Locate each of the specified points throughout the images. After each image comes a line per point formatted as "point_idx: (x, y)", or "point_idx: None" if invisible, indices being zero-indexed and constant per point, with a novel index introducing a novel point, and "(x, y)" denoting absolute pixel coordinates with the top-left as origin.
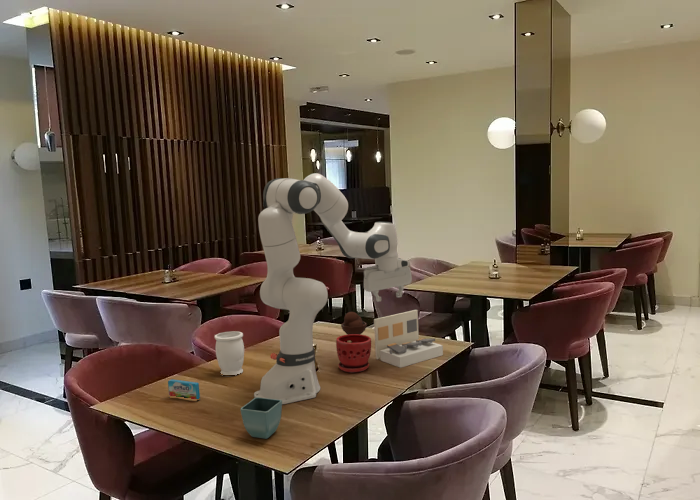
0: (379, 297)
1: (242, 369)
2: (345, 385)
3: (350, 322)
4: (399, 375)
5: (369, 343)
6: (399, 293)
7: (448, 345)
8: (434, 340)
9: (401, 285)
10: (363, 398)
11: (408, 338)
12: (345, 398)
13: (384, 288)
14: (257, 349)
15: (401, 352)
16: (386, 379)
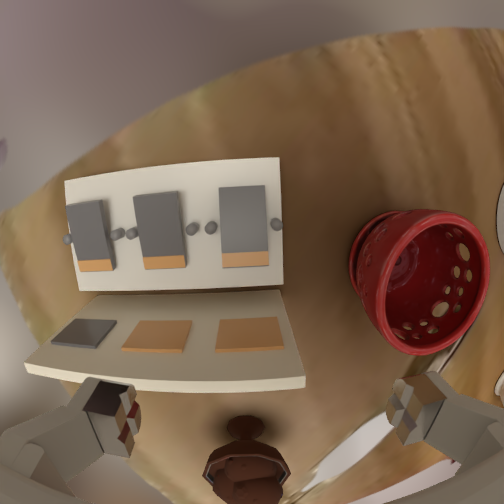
0: (442, 397)
1: (501, 379)
2: (464, 163)
3: (272, 477)
4: (323, 106)
5: (413, 219)
6: (101, 410)
7: (28, 250)
8: (71, 204)
9: (15, 472)
10: (464, 72)
11: (121, 312)
12: (487, 103)
13: (462, 479)
14: (405, 472)
15: (248, 186)
16: (373, 110)
